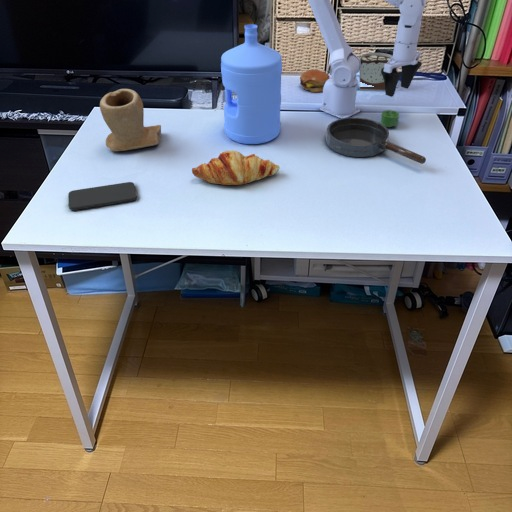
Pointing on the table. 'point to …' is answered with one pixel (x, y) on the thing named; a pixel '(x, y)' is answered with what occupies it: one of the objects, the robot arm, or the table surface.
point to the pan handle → (403, 152)
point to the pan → (356, 136)
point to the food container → (373, 70)
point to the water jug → (252, 90)
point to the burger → (314, 80)
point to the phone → (101, 195)
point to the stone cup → (127, 121)
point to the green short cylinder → (389, 118)
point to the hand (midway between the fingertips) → (397, 91)
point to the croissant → (235, 169)
